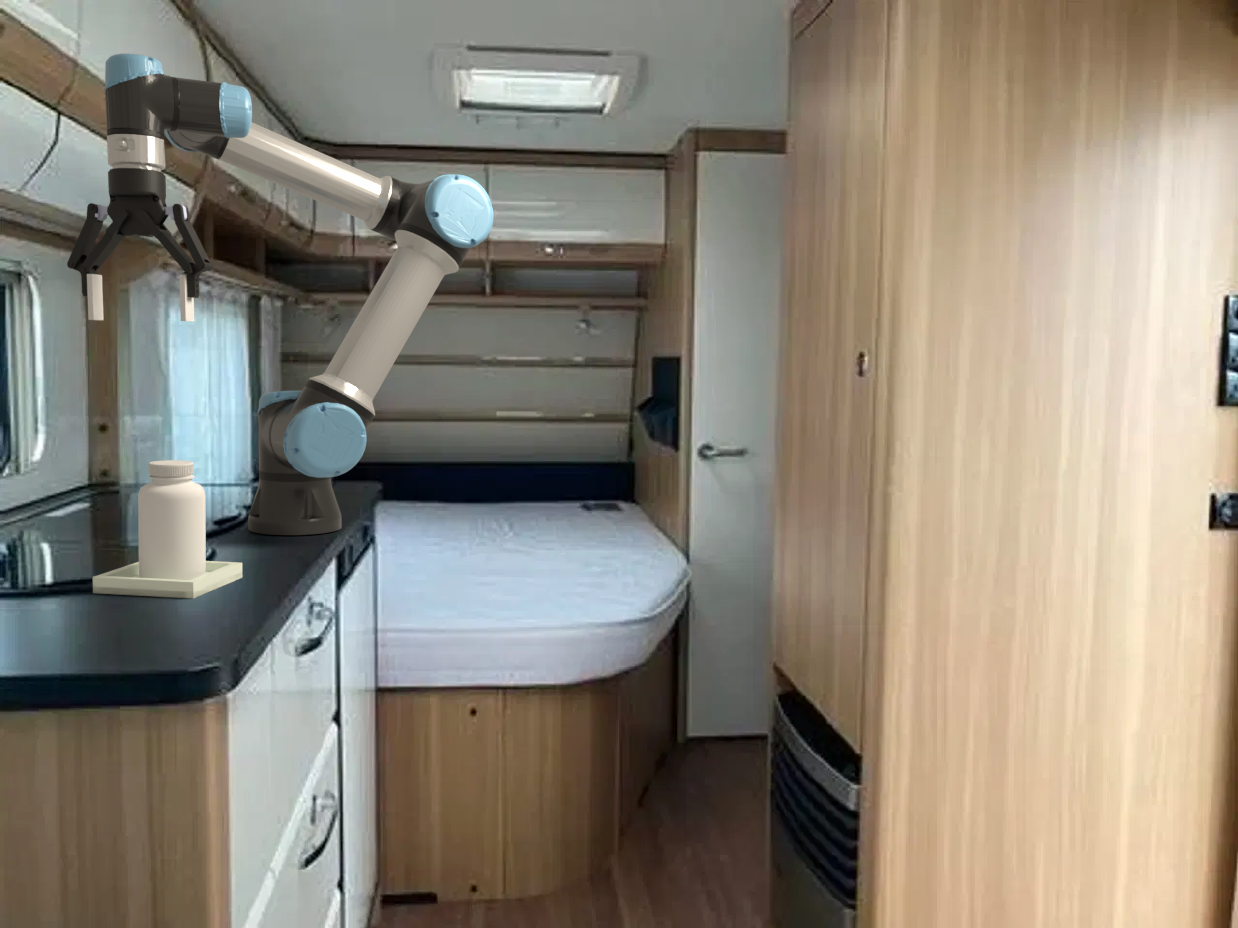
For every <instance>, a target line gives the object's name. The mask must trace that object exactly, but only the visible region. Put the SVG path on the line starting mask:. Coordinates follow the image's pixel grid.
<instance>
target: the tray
mask: <svg viewBox="0 0 1238 928" xmlns="http://www.w3.org/2000/svg"><path fill="white" fill-rule="evenodd" d="M240 579H243V562H237V561H236V562H235V561H234V562H233V561H219V560H218V561H215V560H213V561H212V560H211V561H210V560H206V570H205V574H204V575H202V576H199V577H197V578H194V579H192V580H176V579H156V578H140V577H139V561H137V562H134V563H131V564H128V565H125V566H122V567H119V568H116V569H113V570H110V571H107V572H104V573H100V574H98V575H95V576H92V593H93V594H101V595H102V594H103V595H107V594H108V595H121V596H122V595H124V596H139V597H141V596H142V597H143V596H144V597H157V598H158V597H159V598H175V599H176V598H178V599H179V598H180V599H195V598H196V599H197V598H198V597H201V596H203V595H204V594H208V593H209V592H211V591H212V592H213V591H215V590H217V589H219V588H221V587H223V586H226V585H229V584H231V583H234V582H235V581H237V580H240Z"/></svg>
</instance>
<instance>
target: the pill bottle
mask: <svg viewBox="0 0 1238 928" xmlns="http://www.w3.org/2000/svg"><path fill="white" fill-rule="evenodd" d="M147 468H148V471H147V472H148V476H149V477H148V478H149V479H150V480H151V481H150V482H148V483H146V484H144V485H142V486H141V488H140V489H139V490H138V495H137V507H138V508H137V509H138V510H137V512H138V513H137V514H138V515H137V516H138V519H137V522H138V524H137V527H138V535H137V536H138V539H137V540H138V562H139V577H140V578H156V579H176V580H192V579H194V578H197V577H199V576H202V575H204V574H205V570H206V561H207V560H206V559H207V558H206V557H207V556H206V555H207V554H206V553H207V552H206V551H207V548H206V546H207V544H206V542H207V541H206V539H207V537H206V535H207V534H206V533H207V532H206V529H207V528H206V526H207V521H206V520H207V519H206V517H207V516H206V514H207V513H206V512H207V511H206V508H207V507H206V504H207V503H206V501H207V500H206V499H207V498H206V491H205V489H204V487H203V486H202V485H201V484H199V483H198V482H194V481H193V479H195V475H194V473H195V472H194V471H195V465H194V462H193V461H190V460H182V459H180V460H179V459H172V460H171V459H169V460H168V459H167V460H166V459H165V460H154V461H150V462H148V467H147Z"/></svg>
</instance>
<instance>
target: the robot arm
mask: <svg viewBox="0 0 1238 928" xmlns="http://www.w3.org/2000/svg"><path fill="white" fill-rule="evenodd" d="M104 67H105V68H104V69H105V75H104V76H105V77H104V79H105V81H104V101H105V103H104V104H105V123H106V144H107V145H106V146H107V147H106V148H107V150H106V151H107V164H108V165H109V166H110V167H112V168H110V169H109V171H108V172H107V179H108V180H107V181H108V182H107V183H108V186H107V187H108V195H109V204H108V206H106V205H101V204H96V203H92V202H91V203H88V204H87V206H86V219H85V220H84V221H85V222H84V224H83V226H82V228H81V230H80V233H79V235H78V238H77V239H76V241H75V244H74V246H73V249H72V250H71V251H72V252H71V253H70V255H69V258H68V260H67V263H66V265H67V267H68V268H69V269H70V270H71V269H72V270H74V271H77V272H79V273H80V276H81V293H82V296H83V297H87V312H88V316H87V318H88V321H104V318H105V317H104V294H103V275H102V274H99V273H98V271H99V269H100V268H101V266H103V265H104V263H105V261H106V260H108V258H109V256H110V255H111V254H112V253H113V251H114V250H115V248H116V247H117V246H118V245H119V244H120V243H121V241H123V240H125V239H126V237H130V238H131V237H132V238H138V237H145V238H153V237H154V238H155V239H157V240H158V242H160V244H161V245H162V246H163V248H164V249H166V251H167V253H168V254H169V255H170V256H171V257H172V258H173V259H174V261H175V262H176V263H177V264H178V266H179V267H180V268H181V269H182V271H183V274H179V275H178V276H179V300H180V301H179V307H180V308H179V309H180V315H179V316H180V321H181V322H195V298H196V299H198V298H199V297H200V275H201V274H203V273H205V272H210V271H212V269H213V264H212V262H211V259H210V258H209V256H208V254H207V251H206V250H205V248H204V247H203V245H202V244H203V243H202V242H201V240H200V238H199V236H198V235H197V232H196V231H195V229H194V227H193V224H192V222H191V218H190V213H189V212H190V211H189V208H188V206H186V205H183V204H179V203H174V204H173V205H170V206H167V203H166V199H167V186H166V185H167V183H166V182H167V181H166V180H167V179H166V175H165V173H164V172H162V171H164V170H165V169H166V153H165V136H166V138H167V140H168V141H169V143H170V144H171V145H173V146H174V147H175V148H177V149H179V150H180V151H183V152H190V153H191V152H192V153H193V152H195V153H197V152H198V153H201V154H203V155H206V156H208V157H211V158H213V159H216V160H218V161H221V162H223V163H226V164H228V165H231V166H233V167H235V168H238V169H240V170H243V171H245V172H248V173H250V174H251V175H254V176H257V177H259V178H262V179H264V180H266V181H268V182H271V183H274V184H276V185H279V186H281V187H282V188H285V189H288V190H290V191H293V192H295V193H298V194H300V195H301V196H302V195H303V196H304V197H307V198H309V199H311V200H314V201H316V202H318V203H321V204H324V205H326V206H329V207H331V208H333V209H334V210H338V211H339V212H340V211H341V212H343V213H345V214H348V215H350V216H352V217H354V218H357V219H359V220H362V221H363V222H364V224H365V227H366V229H368V230H369V231H372V232H375V233H378V234H379V235H381V236H385V237H386V238H389V239H391V240H393V241H395V242H396V245H397V248H396V249H395V251H394V253H393V255H392V256H391V258H390V259H389V262H388V263H387V265H386V266H385V268H384V270H383V272H382V273H381V275H380V277H379V278H378V279H377V282H376V283H375V285H374V287H373V289H372V291H371V293H370V294H369V296H368V297H367V300H366V301H365V302H364V304H363V306H362V308H361V309H360V311H359V313H358V314H357V316H356V318H355V319H354V322H353V323H352V325H351V326H350V328H349V330H348V331H347V333H346V335H345V337H344V338H343V341H342V342H341V343H340V345H339V347H338V349H337V351H335V354H334V356H332V359H331V360H330V362H329V364H328V365H327V367H326V369H325V371H324V372H323V373H322V374H319V375H316V376H312V377H311V376H310V377H309V378H308V380H307V382H306V384H305V385H304V387H303V389H302V390H282V391H281V390H280V391H271V392H270V391H269V392H265V393H263V394H262V395H261V396H260V398H259V401H258V409H257V417H258V486H257V489H256V492H255V496H254V498H253V502H252V505H251V508H250V510H249V514H248V518H247V522H248V527H247V528H248V531H250V532H252V533H256V534H262V535H274V536H307V535H309V536H310V535H317V534H318V535H319V534H327V533H332V532H336V531H339V530H341V529H342V514H341V510H340V507H339V503H338V501H337V499H336V498H337V497H336V494H335V492H334V489H333V486H332V478H334V477H338V476H341V475H343V474H345V473H347V472H349V471H350V470H352V469H353V468H354V467H355V466H357V464H358V463H359V461H360V460H361V459H362V457H363V455H364V453H365V450H366V447H367V441H368V440H367V439H368V438H367V430H368V428H369V427H370V425H371V424H372V421H373V420H374V418H375V416H376V411H375V408H374V404H373V401H374V398H375V397H376V394H378V392H379V390H380V388H381V387H382V385H383V383H384V381H385V379H386V378H387V376H388V374H389V372H390V371H391V369H392V367H393V365H394V364H395V361H396V360H397V358H398V357H399V355H400V353H401V352H402V350H403V348H404V346H405V344H406V342H407V341H408V339H409V337H410V336H411V334H412V332H413V331H414V329H415V327H416V326H417V323H418V322H419V320H420V318H421V317H422V315H423V313H424V311H425V310H426V308H427V306H428V304H429V303H430V301H431V300H432V298H433V296H434V294H435V292H436V290H437V289H438V287H439V285H440V284H441V281H442V280H443V279H444V277H445V276H446V275H450V274H455V273H457V272H458V271H459V270H460V268H461V266H462V264H463V262H464V261H465V259H466V257H467V256H468V253H469V252H470V251H471V248H473V247H474V248H475V247H477V246H479V244H481V243H482V242H483V241H484V240H485V239H486V238H487V237H488V236H489V234H490V232H491V230H492V228H493V224H494V217H495V216H494V215H495V213H494V208H493V204H492V200H491V198H490V196H489V193H487V190H485V188H484V187H483V186H482V185H481V184H480V183H479V182H478V181H477V180H475V179H474V178H472V177H470V176H467V175H463V174H458V173H456V174H455V173H453V174H450V173H449V174H448V173H447V174H442V175H439V176H437V177H436V178H434V179H432V180H429V181H426V182H421V183H413V182H406V181H402V180H399V179H396V178H395V177H392V176H390V175H385V176H382V177H380V178H379V177H377V176H374V175H373V174H371V173H368V172H366V171H364V170H361V169H359V168H356V167H354V166H353V165H350V164H348V163H345V162H344V161H341V160H338V159H336V158H334V157H332V156H330V155H327V154H325V153H323V152H320V151H318V150H316V149H314V148H311V147H309V146H307V145H305V144H302V143H300V142H298V141H296V140H293V139H292V138H291V139H290V138H289V137H286V136H284V135H281V134H280V133H278V132H275V131H273V130H271V129H269V128H266V127H263V126H261V125H259V124H257V123H255V122H252V120H253V103H252V98H251V97H252V96H251V94H250V92H249V90H248V89H247V88H246V87H244V86H241V85H236V84H229V83H227V82H225V81H223V82H216V81H207V80H200V79H193V78H192V79H190V78H184V77H183V78H181V77H177V76H170V75H166V74H165V71H164V70H163V65H162V63H161V61H160V60H158V59H157V58H155V57H152V56H147V55H144V54H137V53H116V54H113V55H110V56H109V57H108V58H107V59H106V60H105V66H104ZM108 216H109V218H110V219H111V221H112V222H111V223H110V224H109V225H108V227H107V229H106V230H105V234H104V235H103V236H102V238H101V239H100V240H99V241H98V243H97V244H96V245H95V243H96V241H97V240H98V237H99V234H100V232H101V230H102V228H103V225H104V222H105V221H106V220H107V219H108ZM169 217H170V219H171V220H172V221H174V224H175V225H176V228H177V231H178V232H179V234H180V236H181V238H182V240H183V241H184V244H185V246H186V248H187V250H188V252H189V254H190V255H189V254H188V253H187V252H186V250H185V249H184V248H183V247H182V245H180V243H179V242H178V241H177V240H176V239H175V237H174V236H173V234H172V232H171V231H170V230H169V229H168V227H167V226H166V225H165V222H166V221H167V218H169ZM94 245H95V247H94Z"/></svg>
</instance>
